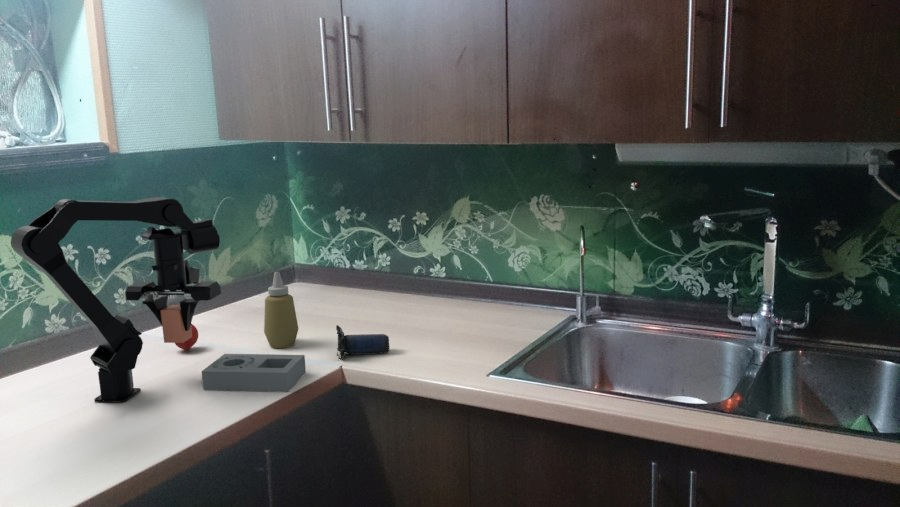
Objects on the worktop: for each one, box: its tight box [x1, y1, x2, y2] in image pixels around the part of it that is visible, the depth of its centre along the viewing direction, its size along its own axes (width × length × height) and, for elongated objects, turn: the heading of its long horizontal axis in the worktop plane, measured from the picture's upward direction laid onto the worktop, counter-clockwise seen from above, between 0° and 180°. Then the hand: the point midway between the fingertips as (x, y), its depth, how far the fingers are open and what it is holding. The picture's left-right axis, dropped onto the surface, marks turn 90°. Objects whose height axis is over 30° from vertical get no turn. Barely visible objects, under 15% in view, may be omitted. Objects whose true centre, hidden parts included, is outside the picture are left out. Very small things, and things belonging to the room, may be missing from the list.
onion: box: [174, 323, 199, 351], centre depth 179 cm, size 6×6×8 cm
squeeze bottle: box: [263, 271, 299, 349], centre depth 179 cm, size 8×8×18 cm
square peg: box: [161, 304, 192, 344], centre depth 158 cm, size 4×4×7 cm
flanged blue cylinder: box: [335, 324, 390, 361], centre depth 173 cm, size 9×8×12 cm
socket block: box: [201, 353, 307, 393], centre depth 157 cm, size 11×18×4 cm, turn 82°
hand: (177, 330), depth 159 cm, fingers closed on square peg, 4 cm apart
